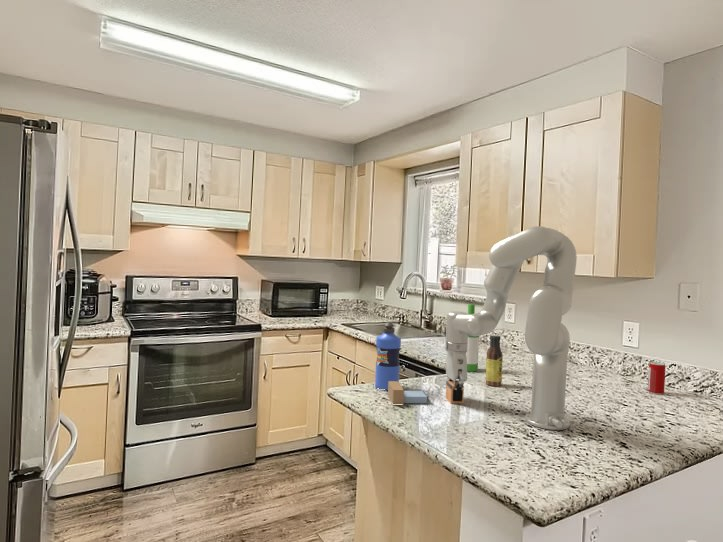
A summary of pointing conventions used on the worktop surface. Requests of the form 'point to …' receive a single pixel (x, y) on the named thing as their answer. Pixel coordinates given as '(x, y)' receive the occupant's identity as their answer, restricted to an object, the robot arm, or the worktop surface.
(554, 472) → the worktop surface
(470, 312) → the wine bottle
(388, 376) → the water bottle
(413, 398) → the tan blue stepped block
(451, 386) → the stub
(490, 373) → the sauce bottle
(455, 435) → the worktop surface
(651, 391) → the soda can
